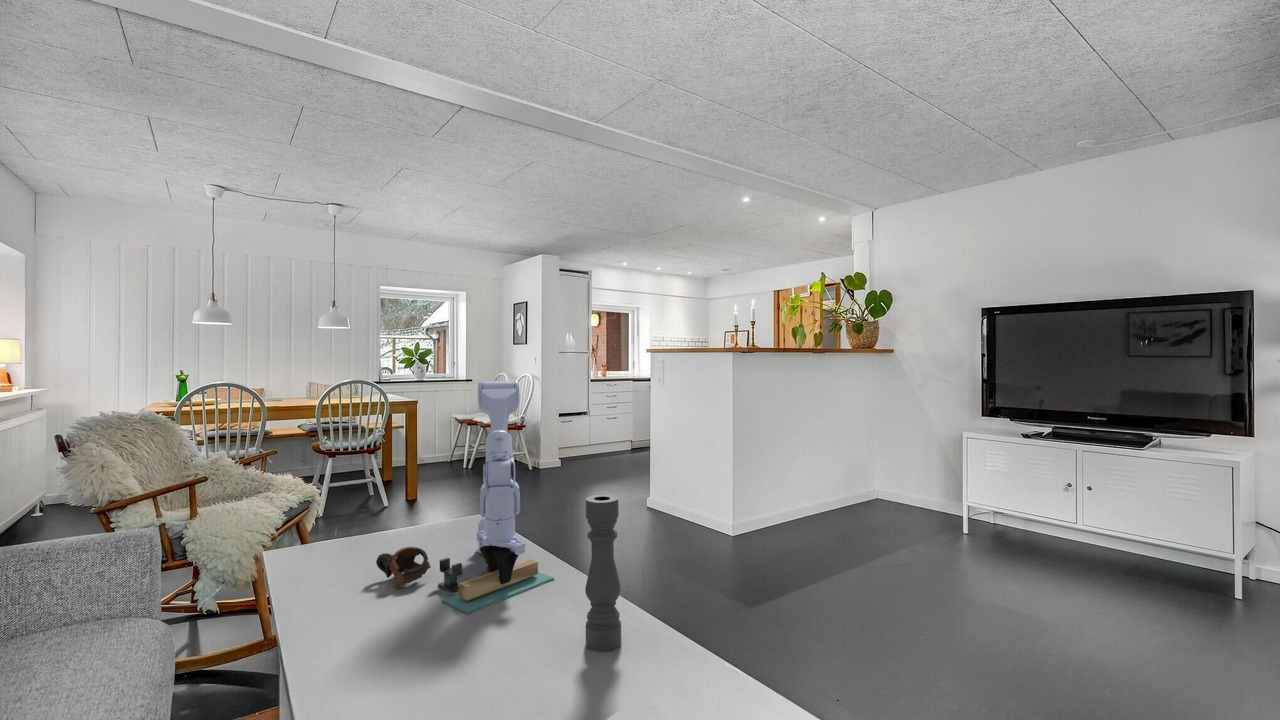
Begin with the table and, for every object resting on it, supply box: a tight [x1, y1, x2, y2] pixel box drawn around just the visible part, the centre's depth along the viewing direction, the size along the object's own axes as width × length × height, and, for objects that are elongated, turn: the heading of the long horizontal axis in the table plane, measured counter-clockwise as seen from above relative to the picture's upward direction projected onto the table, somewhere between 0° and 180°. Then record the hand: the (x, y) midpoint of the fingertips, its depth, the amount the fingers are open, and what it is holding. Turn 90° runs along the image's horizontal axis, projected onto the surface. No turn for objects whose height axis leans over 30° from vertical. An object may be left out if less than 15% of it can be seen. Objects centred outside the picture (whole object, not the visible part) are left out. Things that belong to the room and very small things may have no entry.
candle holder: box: [584, 494, 622, 652], centre depth 99 cm, size 6×6×25 cm
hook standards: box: [438, 557, 489, 593], centre depth 128 cm, size 6×15×6 cm, turn 139°
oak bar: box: [458, 558, 539, 601], centre depth 122 cm, size 3×18×3 cm, turn 139°
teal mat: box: [441, 571, 555, 615], centre depth 122 cm, size 9×22×1 cm, turn 139°
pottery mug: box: [375, 546, 431, 589], centre depth 127 cm, size 12×10×8 cm
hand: (500, 580), depth 122 cm, fingers closed on oak bar, 3 cm apart
